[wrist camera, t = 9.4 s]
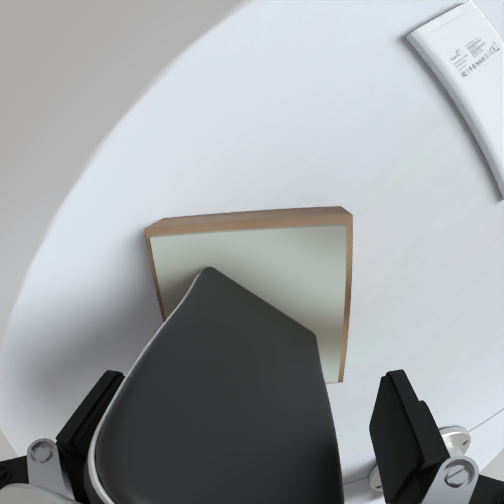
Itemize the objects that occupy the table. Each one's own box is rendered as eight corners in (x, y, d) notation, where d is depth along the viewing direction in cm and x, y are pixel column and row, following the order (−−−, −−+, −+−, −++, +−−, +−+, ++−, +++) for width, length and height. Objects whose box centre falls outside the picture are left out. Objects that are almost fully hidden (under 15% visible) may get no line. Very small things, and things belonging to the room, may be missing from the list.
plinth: (336, 357, 18) (343, 386, 15) (190, 360, 19) (179, 388, 16) (340, 206, 15) (354, 216, 13) (163, 218, 16) (141, 230, 14)
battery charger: (169, 313, 15) (54, 501, 4) (205, 257, 14) (62, 477, 3) (277, 378, 16) (267, 575, 5) (321, 333, 14) (358, 557, 4)
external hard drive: (498, 198, 15) (401, 40, 12) (543, 143, 13) (462, 5, 10) (512, 202, 13) (411, 31, 11) (556, 144, 11) (473, -2, 9)
